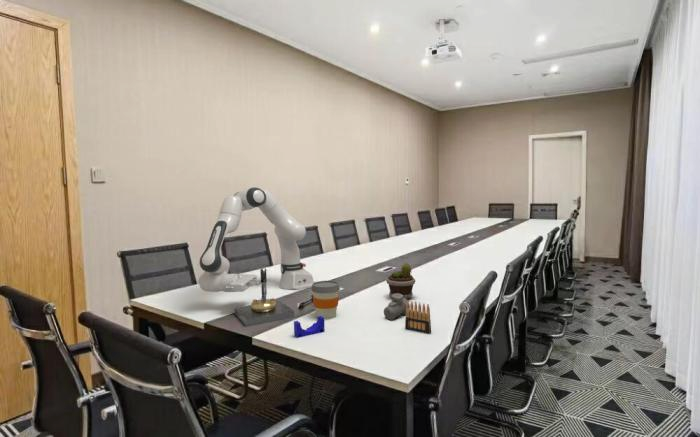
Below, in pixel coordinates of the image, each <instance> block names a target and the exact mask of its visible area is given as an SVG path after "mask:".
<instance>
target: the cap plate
mask: <svg viewBox="0 0 700 437" xmlns="http://www.w3.org/2000/svg"><path fill="white" fill-rule="evenodd" d="M275 301H276V308H275V309H274V310H271V311H267V312H254V311H252V310H251V304H248V305H244V306H243V305H242V306H236V307H234V308H233V310H234V311H233V312H234V316H236V317H237V318H238V320H240V321H241V323H242V324H243V325H244V326H245V327H249V326H250V327H251V326H256V325H261V324H266V323H272V322H276V321H281V320H287V319H292V318H295V310H294V309H293V308H291V307H290V306H288V305H286V304H285V303H284V302H282V301H281V300H275Z"/></svg>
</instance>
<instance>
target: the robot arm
mask: <svg viewBox="0 0 700 437" xmlns="http://www.w3.org/2000/svg"><path fill="white" fill-rule="evenodd" d="M256 208H258V209H259V210H260V212H261V213H262V214H263V215H264V216H265V217H266V219H267V220H268V221H269V223H271V224H272V225H274V229H273V230H274V233H275V236H276V237H277V240H278V245H279V248H280V259H281V260H280V261H281V263H280V273H281V274H280V275H281V276H280V283H279V288H281V289H284V290H295V291H298V290H301V289H306V288H312V284H313V283H315V282H316V281H315V280H314V277H313V274H312V273H310V272H309V271H307V270H306V269H304V268H305V267H307V264H306V263H302V262H301V250H300V248H299V246H298V244H297V241H298V242H299V241H302V240H303V239H304V238H305V237H306V235H307V229H306V227H305V226H304V225H303V224H302V223H300V222H299V221H298V220H297V219H296V218H295V217H294V216H293V215H291V213H289V212H288V211H287V210H286V209H285V208H284V207H283V205H282V204H281V202H279V200H278V199H277V198H276V196H274V194H272V192H270V191H269V190H268V189H266V188H259V187H250V188H245V189H243V190H241V191H238V192H235V193H234V194H233V195H228V196H227V195H226V196H225V198H224V199H223V201H222V203H221V206H220V209H219V212H218V217H217V219H216V223H215V224H214V226H213V229H212V230H211V234H210V237H209V240H208V242H207V245H206V248H205V249H204V251H203V253H202V254H201V256H200V258H199V266H200V268H201V269H202V271H203V273H202V274H201V275H200V276H199V278H198V285H199V288H200V289H201V290H202V291H204V292H209V293H210V292H211V293H212V292H213V293H220V292H223V293H224V292H225V293H237V292H240V293H242V292H245V291H246V290H247V289H249V288H250V287H254V286H255V287H256V286H260V285H261V279H260V280H258V278H257V275H256V274H251V273H243V274H242V272H236V273H229V272H230V268H231V263H230V261H229V259H228V258H226V257H225V256H223V255H222V254H221V249H222V245H223V244H224V243H223V242H224V239H225V237H226V236H227V234H231V233H234V232H236V231H237V230H238V228H239V226H240V223H241V219H242V213H243V212H244V211H249V210H252V209H256Z"/></svg>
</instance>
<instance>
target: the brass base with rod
mask: <svg viewBox="0 0 700 437" xmlns="http://www.w3.org/2000/svg"><path fill="white" fill-rule="evenodd" d="M267 278H268V277H267V269H266V267H263V268H260V281H261V284H260V285H261V286H260V289H261V299H255V298H254V299H252V301H251V304H250V305H251V310H252V311H254V312H267V311H271V310H274V309H275V308H276V301H277V300H275V298H274V297H273V298H267V294H268V293H267V289H268V288H267Z"/></svg>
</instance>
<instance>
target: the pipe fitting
mask: <svg viewBox="0 0 700 437" xmlns="http://www.w3.org/2000/svg"><path fill="white" fill-rule="evenodd" d="M391 299H392V300H391V301H389V303H388V304H387V306H385V307H384V309H383V316H384V317H385V318H386V319H388V320H394V319H395V318H397V317H398V316H400V315H401V316H402V315H404V316H405V315H406V305H407V301H408V300H407V299H405V298H403V295H402V294H398V293H396V294H392V297H391ZM410 305H411V303H409V308H410Z"/></svg>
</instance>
